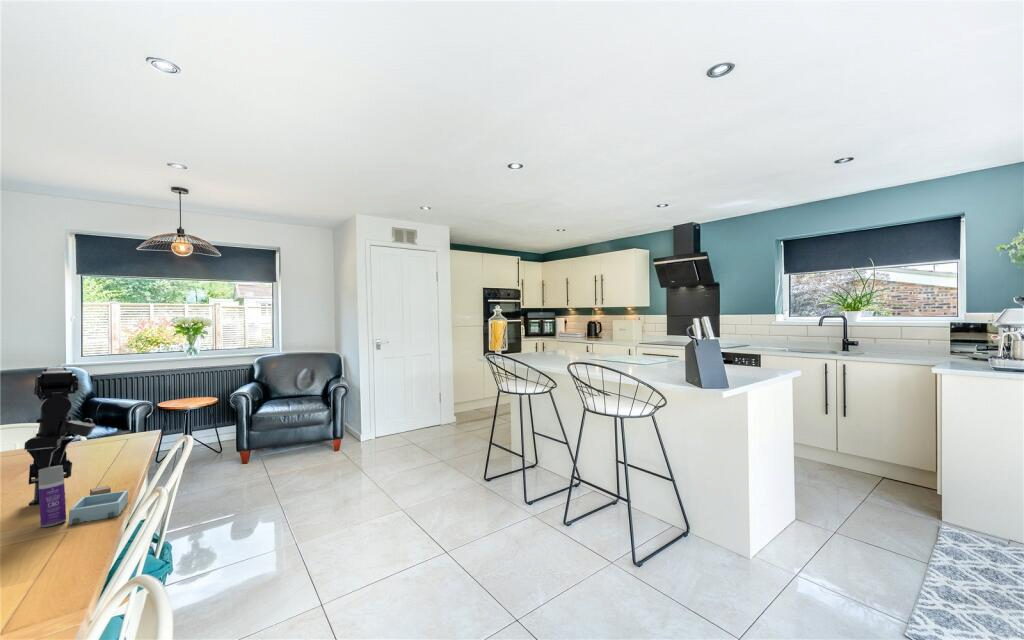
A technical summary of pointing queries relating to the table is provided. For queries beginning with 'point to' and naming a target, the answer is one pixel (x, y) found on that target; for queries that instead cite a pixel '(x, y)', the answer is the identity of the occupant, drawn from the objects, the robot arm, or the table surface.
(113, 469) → the table surface
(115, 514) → the cart
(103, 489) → the walnut block
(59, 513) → the container
